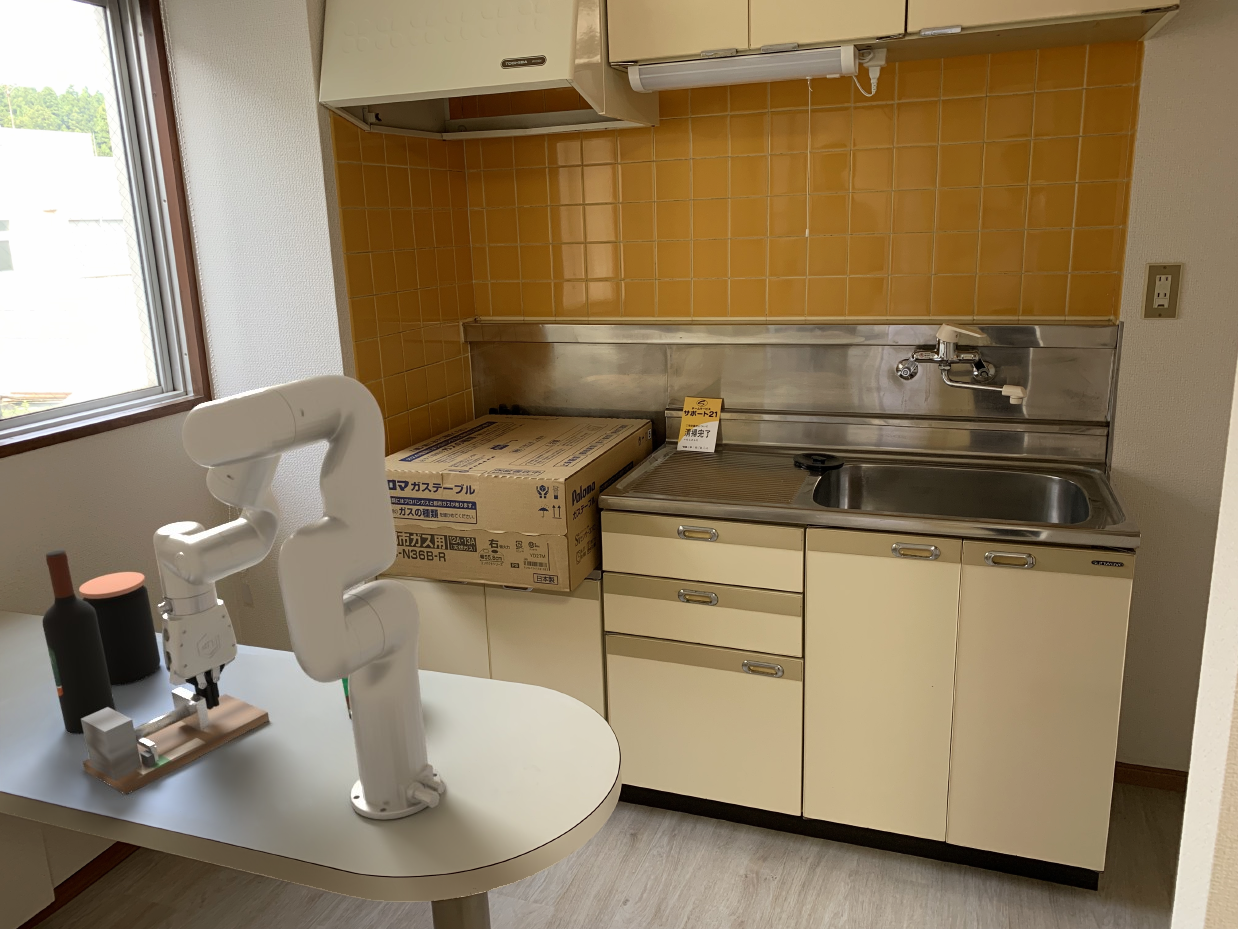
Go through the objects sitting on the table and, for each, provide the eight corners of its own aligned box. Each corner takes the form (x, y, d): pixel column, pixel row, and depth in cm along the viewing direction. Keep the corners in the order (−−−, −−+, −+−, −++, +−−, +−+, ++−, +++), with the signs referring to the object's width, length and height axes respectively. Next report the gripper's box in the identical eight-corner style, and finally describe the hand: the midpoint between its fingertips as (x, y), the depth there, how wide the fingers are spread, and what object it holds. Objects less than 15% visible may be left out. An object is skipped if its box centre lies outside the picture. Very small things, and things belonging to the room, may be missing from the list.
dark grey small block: (156, 764, 140) (153, 753, 140) (149, 767, 139) (147, 756, 139) (148, 760, 141) (146, 749, 141) (142, 763, 140) (140, 753, 140)
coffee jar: (104, 666, 178) (85, 576, 173) (165, 656, 181) (149, 568, 176) (91, 691, 168) (72, 598, 163) (157, 680, 171) (139, 588, 166)
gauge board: (269, 720, 155) (260, 668, 153) (125, 795, 136) (113, 736, 134) (226, 701, 162) (218, 651, 159) (84, 770, 143) (72, 714, 141)
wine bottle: (89, 737, 152) (52, 563, 145) (54, 730, 155) (16, 559, 147) (127, 713, 159) (93, 546, 152) (93, 708, 162) (58, 543, 154)
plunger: (215, 730, 148) (210, 700, 147) (150, 763, 140) (143, 732, 139) (185, 716, 153) (180, 687, 152) (120, 747, 145) (114, 717, 143)
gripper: (158, 623, 140) (179, 733, 144) (247, 588, 151) (263, 691, 156) (132, 612, 144) (152, 720, 149) (220, 580, 156) (237, 680, 160)
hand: (209, 705), depth 152 cm, fingers closed
